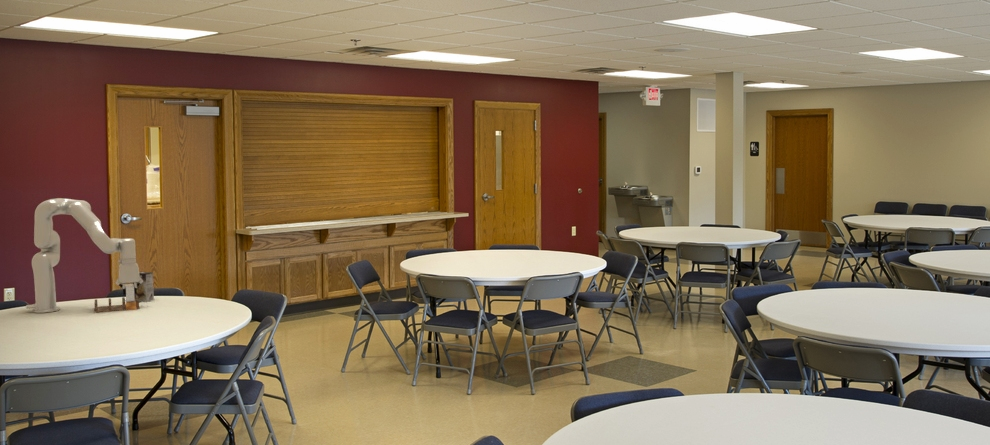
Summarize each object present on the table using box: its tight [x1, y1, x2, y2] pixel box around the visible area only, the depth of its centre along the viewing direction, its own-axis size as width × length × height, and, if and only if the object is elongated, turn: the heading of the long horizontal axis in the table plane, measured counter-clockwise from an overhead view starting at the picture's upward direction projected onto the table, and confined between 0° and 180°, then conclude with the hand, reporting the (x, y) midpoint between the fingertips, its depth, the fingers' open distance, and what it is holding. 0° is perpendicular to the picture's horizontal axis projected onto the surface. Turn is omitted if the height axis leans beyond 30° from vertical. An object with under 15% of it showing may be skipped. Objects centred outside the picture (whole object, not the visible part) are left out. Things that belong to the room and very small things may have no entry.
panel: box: [125, 283, 136, 304], centre depth 448 cm, size 4×11×10 cm, turn 25°
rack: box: [94, 296, 140, 314], centre depth 445 cm, size 21×15×5 cm
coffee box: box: [132, 271, 155, 303], centre depth 469 cm, size 9×6×16 cm
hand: (130, 295), depth 448 cm, fingers closed on panel, 4 cm apart
